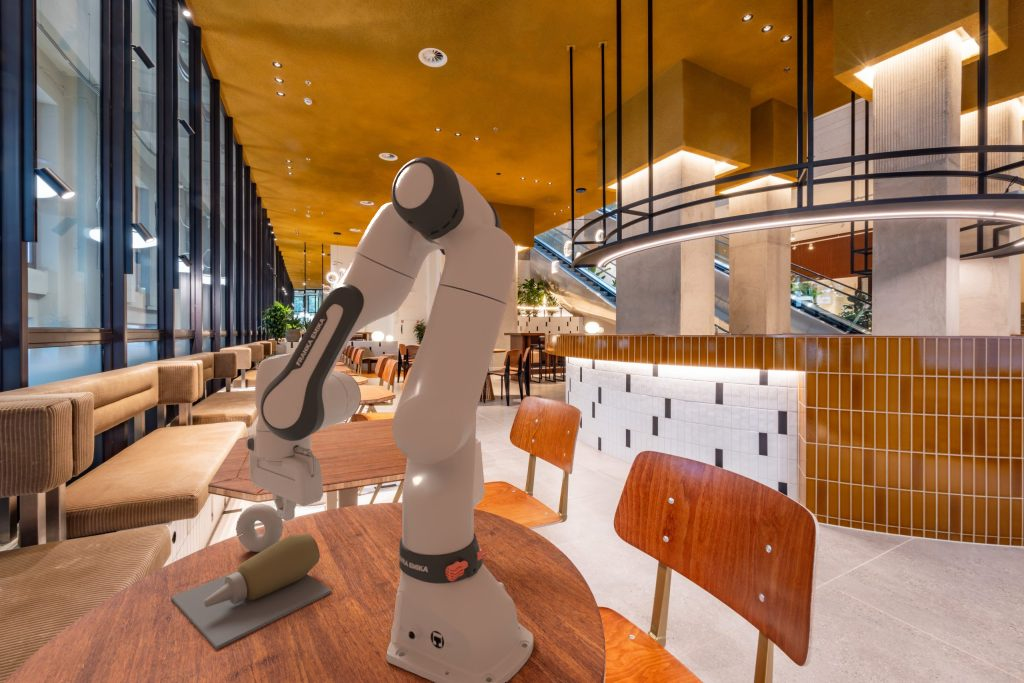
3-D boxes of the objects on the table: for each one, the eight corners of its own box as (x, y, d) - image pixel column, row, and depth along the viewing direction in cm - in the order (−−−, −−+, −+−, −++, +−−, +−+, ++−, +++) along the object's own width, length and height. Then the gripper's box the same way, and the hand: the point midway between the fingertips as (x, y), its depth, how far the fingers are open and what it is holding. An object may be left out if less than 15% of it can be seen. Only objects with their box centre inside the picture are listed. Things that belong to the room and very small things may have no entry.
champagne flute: (464, 544, 97) (465, 435, 96) (490, 551, 94) (491, 439, 93) (446, 557, 91) (446, 442, 91) (473, 566, 88) (473, 446, 87)
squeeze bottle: (329, 562, 82) (222, 623, 67) (311, 574, 86) (206, 633, 71) (312, 521, 83) (204, 572, 69) (295, 535, 88) (190, 585, 73)
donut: (286, 548, 94) (286, 502, 94) (276, 556, 91) (276, 508, 91) (243, 546, 96) (243, 500, 95) (232, 553, 92) (231, 506, 92)
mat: (331, 592, 78) (331, 589, 78) (216, 649, 64) (216, 646, 64) (278, 558, 90) (278, 555, 90) (171, 599, 76) (171, 596, 76)
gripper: (331, 446, 76) (333, 525, 77) (275, 432, 89) (277, 501, 89) (295, 454, 71) (297, 539, 71) (241, 438, 84) (243, 511, 84)
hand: (285, 518), depth 80 cm, fingers closed
